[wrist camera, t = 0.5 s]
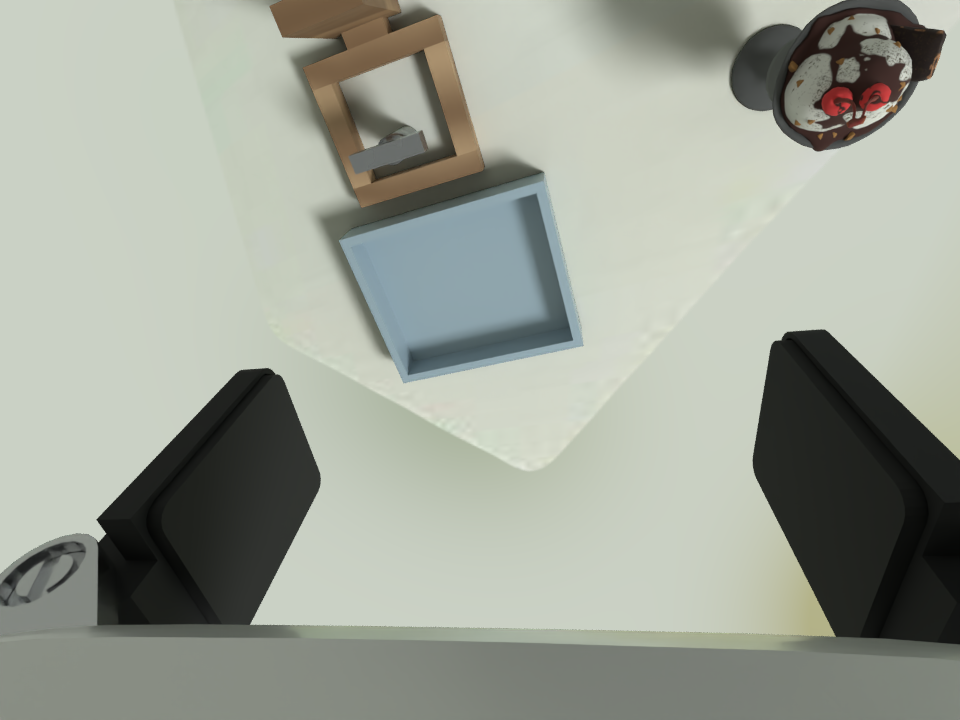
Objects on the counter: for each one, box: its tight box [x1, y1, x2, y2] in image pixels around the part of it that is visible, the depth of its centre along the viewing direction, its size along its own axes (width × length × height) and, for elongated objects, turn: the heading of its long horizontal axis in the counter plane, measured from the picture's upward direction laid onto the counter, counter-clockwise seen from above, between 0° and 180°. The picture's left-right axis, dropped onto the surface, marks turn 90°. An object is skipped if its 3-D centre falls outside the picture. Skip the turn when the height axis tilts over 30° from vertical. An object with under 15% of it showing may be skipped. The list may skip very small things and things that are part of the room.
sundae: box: [732, 0, 946, 151], centre depth 28 cm, size 7×7×15 cm
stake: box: [348, 126, 428, 174], centre depth 36 cm, size 2×5×6 cm, turn 107°
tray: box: [339, 172, 583, 383], centre depth 43 cm, size 14×16×3 cm
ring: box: [269, 0, 485, 208], centre depth 34 cm, size 12×10×8 cm
